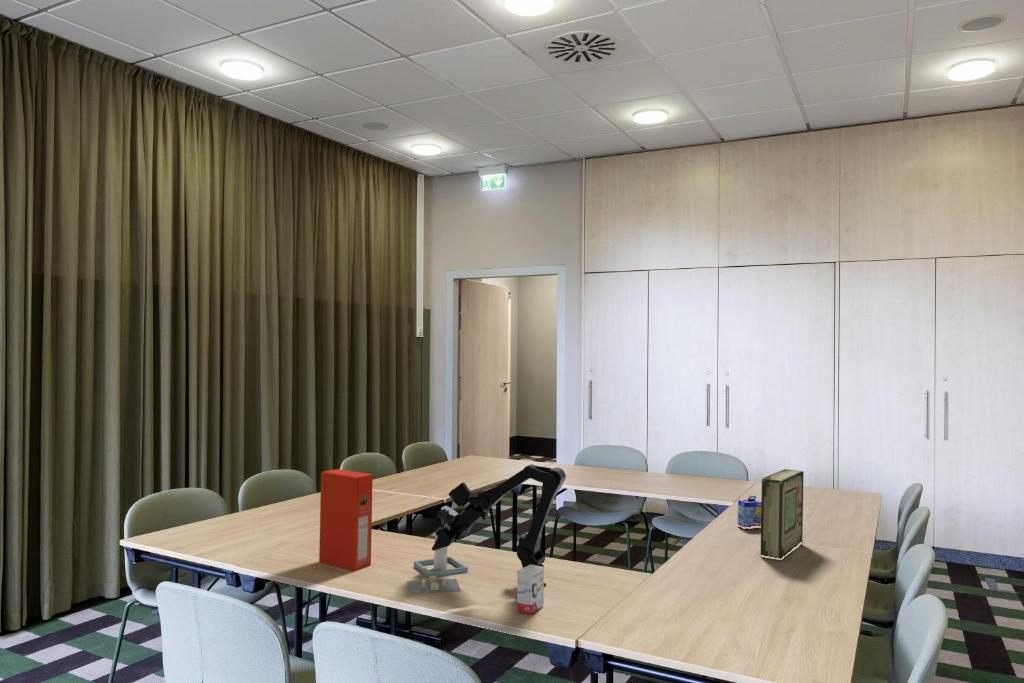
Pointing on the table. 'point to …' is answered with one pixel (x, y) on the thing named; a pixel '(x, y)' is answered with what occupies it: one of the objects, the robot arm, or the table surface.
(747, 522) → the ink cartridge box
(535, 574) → the ink box
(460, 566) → the tray
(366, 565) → the file binder
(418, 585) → the board
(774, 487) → the control panel
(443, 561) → the white cylinder
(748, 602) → the table surface
